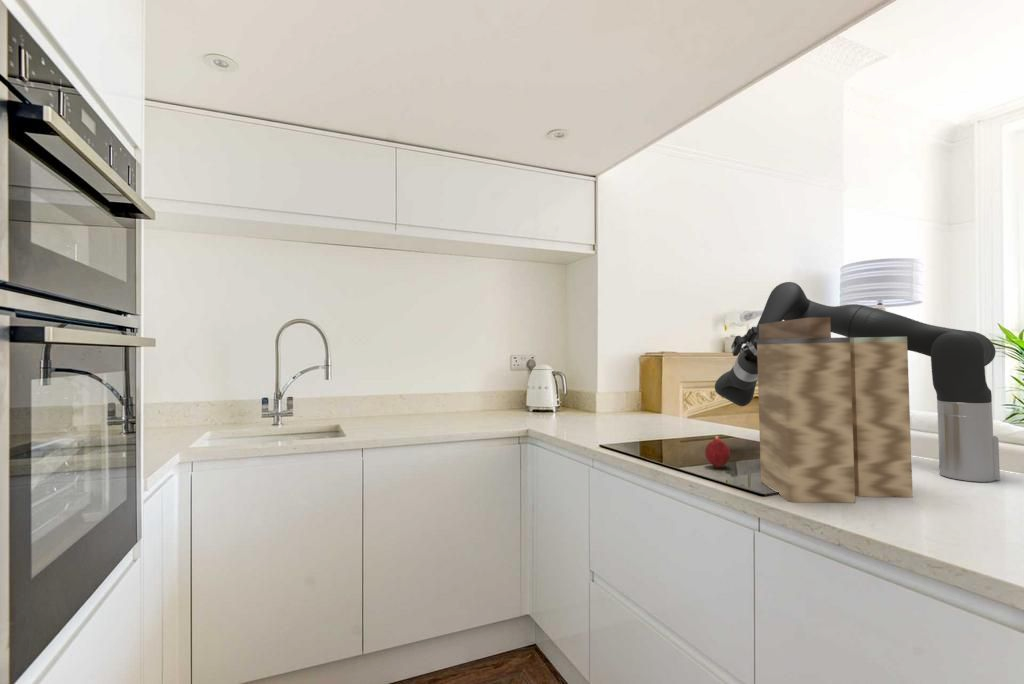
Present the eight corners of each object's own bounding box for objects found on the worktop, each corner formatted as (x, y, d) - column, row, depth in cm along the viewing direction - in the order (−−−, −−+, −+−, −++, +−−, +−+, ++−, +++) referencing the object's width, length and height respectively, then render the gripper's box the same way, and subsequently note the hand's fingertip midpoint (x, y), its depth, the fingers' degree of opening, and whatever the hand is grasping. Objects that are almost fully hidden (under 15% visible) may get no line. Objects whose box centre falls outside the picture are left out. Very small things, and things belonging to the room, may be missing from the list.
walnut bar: (776, 340, 119) (776, 323, 119) (830, 337, 95) (830, 317, 95) (759, 340, 119) (758, 324, 119) (809, 338, 95) (808, 317, 95)
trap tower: (817, 483, 109) (813, 339, 110) (855, 502, 95) (849, 337, 96) (761, 482, 110) (756, 340, 111) (790, 501, 96) (785, 338, 97)
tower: (868, 478, 112) (864, 338, 112) (912, 497, 98) (907, 336, 98) (822, 478, 113) (817, 339, 113) (859, 496, 99) (853, 337, 99)
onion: (732, 471, 121) (732, 438, 121) (708, 470, 122) (707, 438, 122) (727, 465, 127) (726, 434, 127) (703, 464, 128) (703, 434, 128)
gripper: (721, 350, 132) (739, 316, 118) (777, 349, 130) (801, 315, 117) (726, 375, 128) (746, 343, 114) (784, 374, 127) (810, 342, 113)
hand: (774, 329), depth 115 cm, fingers open, 8 cm apart
